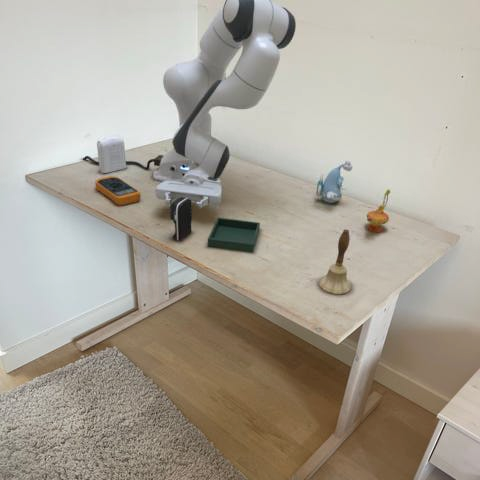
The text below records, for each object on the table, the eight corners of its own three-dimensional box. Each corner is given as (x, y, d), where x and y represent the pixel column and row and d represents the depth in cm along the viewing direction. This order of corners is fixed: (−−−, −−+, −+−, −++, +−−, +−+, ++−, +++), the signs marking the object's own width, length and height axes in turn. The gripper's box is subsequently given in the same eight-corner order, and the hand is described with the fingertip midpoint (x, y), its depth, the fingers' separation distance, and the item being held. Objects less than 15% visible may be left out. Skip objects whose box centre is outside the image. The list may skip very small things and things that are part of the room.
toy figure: (344, 213, 166) (353, 170, 157) (313, 209, 167) (319, 166, 158) (346, 194, 179) (354, 153, 170) (317, 190, 180) (323, 149, 171)
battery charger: (181, 229, 150) (180, 193, 143) (192, 232, 149) (192, 196, 142) (168, 238, 145) (167, 202, 138) (179, 242, 144) (179, 205, 137)
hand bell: (316, 276, 133) (326, 222, 123) (346, 277, 134) (358, 223, 124) (322, 294, 126) (332, 238, 117) (353, 294, 127) (367, 239, 117)
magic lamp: (353, 237, 152) (360, 204, 146) (372, 217, 165) (379, 185, 158) (374, 244, 150) (383, 210, 143) (392, 222, 162) (400, 190, 156)
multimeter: (116, 183, 175) (115, 174, 173) (142, 201, 165) (141, 191, 163) (93, 188, 171) (92, 179, 169) (119, 207, 160) (118, 197, 158)
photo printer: (121, 165, 189) (118, 132, 182) (128, 168, 187) (125, 135, 180) (98, 171, 183) (93, 137, 176) (104, 174, 181) (100, 140, 174)
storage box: (207, 246, 143) (207, 238, 141) (217, 225, 154) (217, 217, 153) (253, 252, 142) (253, 244, 140) (259, 230, 153) (260, 222, 151)
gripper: (162, 172, 156) (148, 189, 145) (225, 180, 154) (216, 197, 143) (162, 191, 160) (149, 209, 149) (224, 199, 158) (216, 217, 147)
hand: (183, 203), depth 146 cm, fingers open, 8 cm apart
